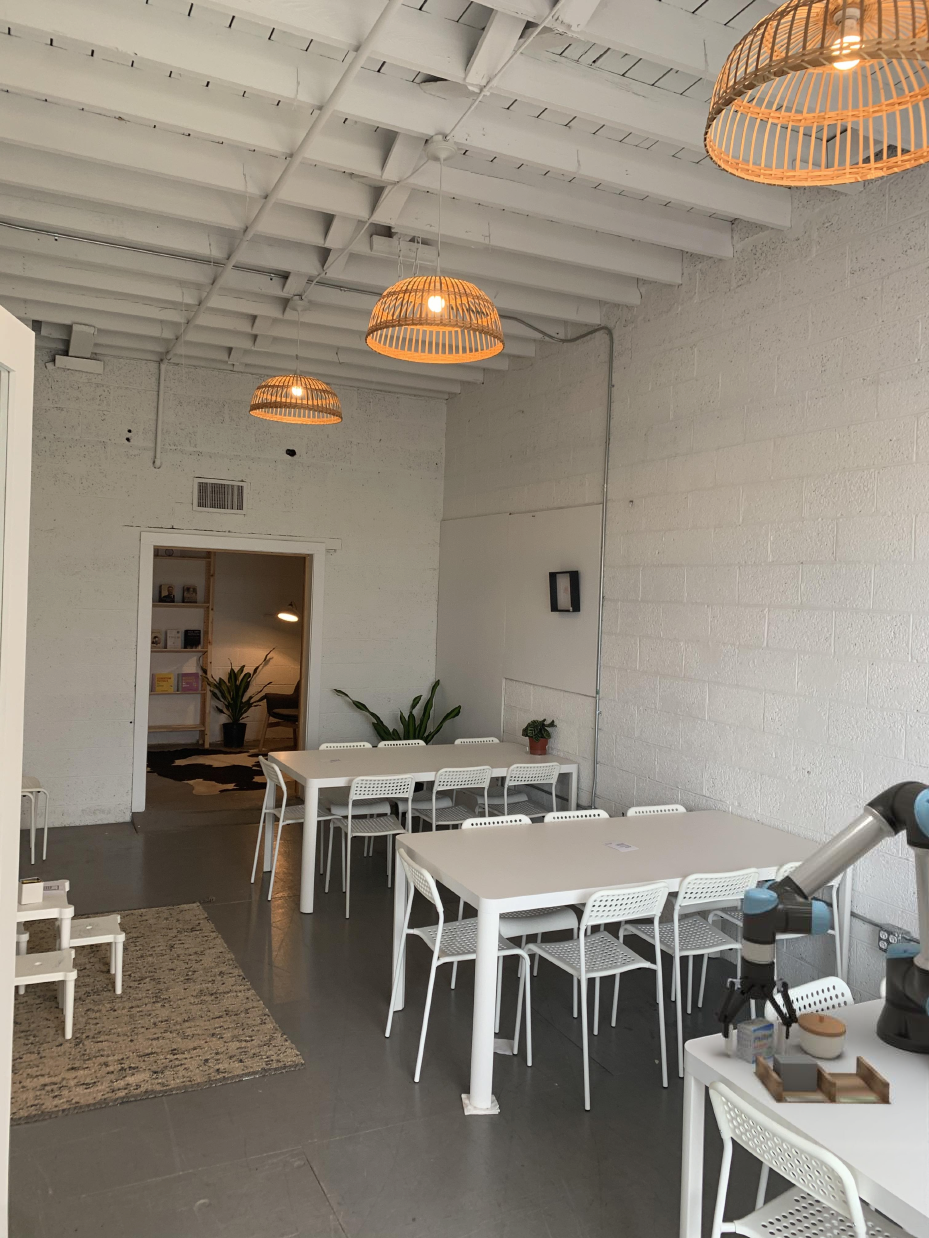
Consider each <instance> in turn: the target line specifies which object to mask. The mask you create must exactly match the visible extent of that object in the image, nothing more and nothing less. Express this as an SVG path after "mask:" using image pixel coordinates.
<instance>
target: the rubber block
mask: <svg viewBox="0 0 929 1238" xmlns="http://www.w3.org/2000/svg"><path fill="white" fill-rule="evenodd" d="M811 1056H812V1055H810V1054H786V1053H785V1054H780V1053H779V1054H777V1053H776V1054H774V1053H773V1057H772V1070H773V1071H774V1072H775V1073H776V1075H777V1076H778V1077H779V1078H780V1079H781V1081H782V1082H783V1086H782V1092H817V1063H818V1062H817V1061H816V1060H815V1058H814V1057H813V1058H814V1059H813V1058H812V1057H811ZM814 1060H815V1061H816V1062H817V1063H816V1062H815V1061H814Z"/></svg>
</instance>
